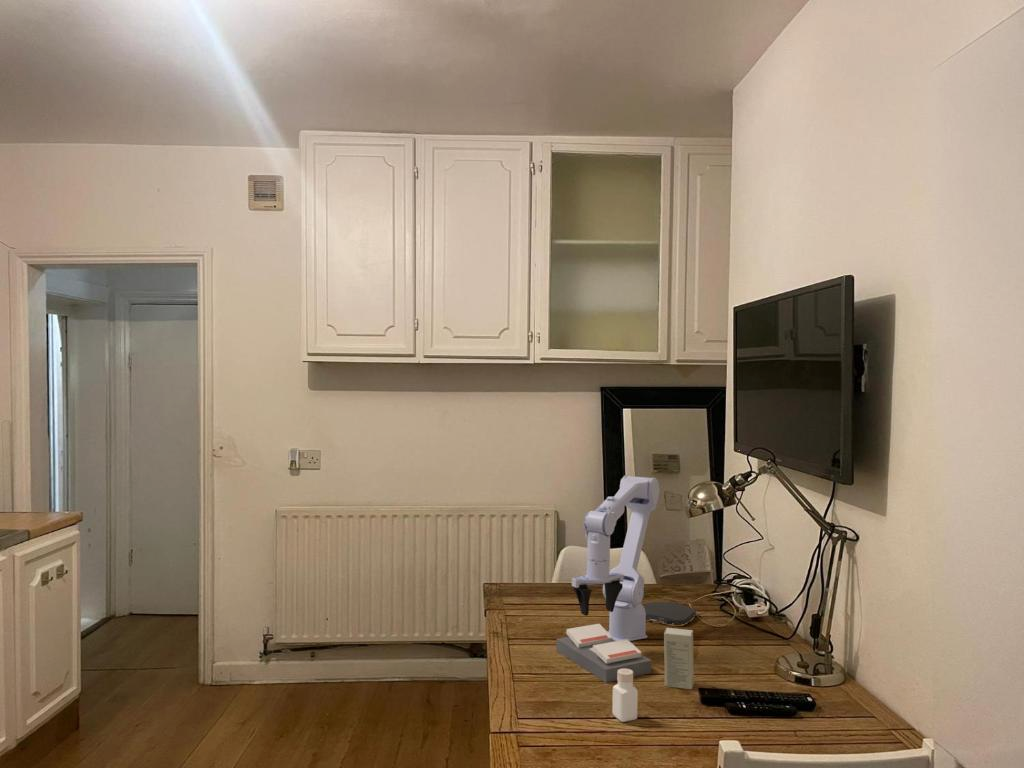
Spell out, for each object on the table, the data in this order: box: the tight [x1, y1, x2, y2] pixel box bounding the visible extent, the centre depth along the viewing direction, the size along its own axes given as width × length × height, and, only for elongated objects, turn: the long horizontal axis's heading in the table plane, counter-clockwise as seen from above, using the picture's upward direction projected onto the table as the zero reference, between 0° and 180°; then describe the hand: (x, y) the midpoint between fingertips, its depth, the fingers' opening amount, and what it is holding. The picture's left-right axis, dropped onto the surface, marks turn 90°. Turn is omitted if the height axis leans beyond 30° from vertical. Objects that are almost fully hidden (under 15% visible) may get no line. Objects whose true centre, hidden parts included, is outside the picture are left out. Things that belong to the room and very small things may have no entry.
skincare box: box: [663, 627, 695, 690], centre depth 166 cm, size 6×4×12 cm
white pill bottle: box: [612, 669, 639, 723], centre depth 149 cm, size 4×4×10 cm
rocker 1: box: [565, 623, 612, 648], centre depth 184 cm, size 10×6×1 cm, turn 118°
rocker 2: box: [592, 639, 642, 664], centre depth 173 cm, size 10×6×1 cm, turn 118°
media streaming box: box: [642, 601, 697, 625], centre depth 214 cm, size 15×15×3 cm
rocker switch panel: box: [555, 636, 652, 683], centre depth 179 cm, size 13×22×3 cm, turn 28°
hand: (597, 612), depth 184 cm, fingers open, 7 cm apart
